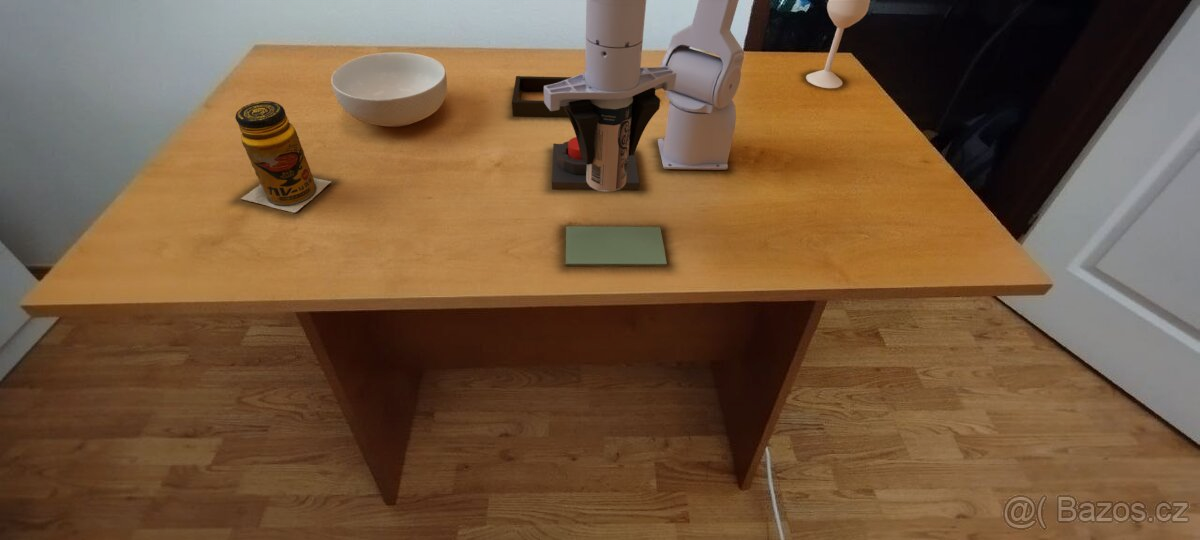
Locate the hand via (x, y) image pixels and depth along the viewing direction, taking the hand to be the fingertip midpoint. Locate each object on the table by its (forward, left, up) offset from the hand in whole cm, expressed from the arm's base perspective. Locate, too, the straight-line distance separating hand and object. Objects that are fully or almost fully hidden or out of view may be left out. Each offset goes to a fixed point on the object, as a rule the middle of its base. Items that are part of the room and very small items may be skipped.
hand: (607, 155), depth 67 cm
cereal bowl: (+32, -28, -11) cm, 44 cm away
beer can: (0, 0, -4) cm, 4 cm away
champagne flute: (-43, -44, -11) cm, 63 cm away
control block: (+1, -13, -10) cm, 17 cm away
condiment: (+42, -7, -11) cm, 44 cm away
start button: (+3, -13, -8) cm, 15 cm away
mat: (-1, +4, -10) cm, 11 cm away
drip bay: (+9, -33, -10) cm, 36 cm away
